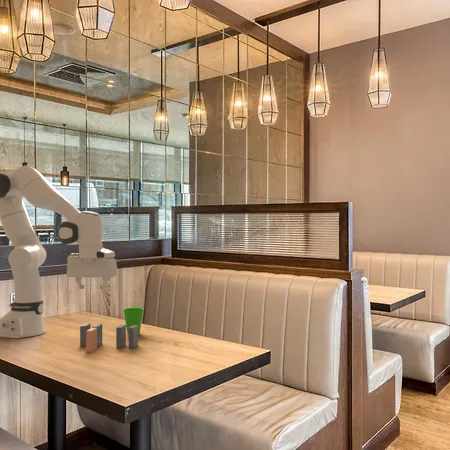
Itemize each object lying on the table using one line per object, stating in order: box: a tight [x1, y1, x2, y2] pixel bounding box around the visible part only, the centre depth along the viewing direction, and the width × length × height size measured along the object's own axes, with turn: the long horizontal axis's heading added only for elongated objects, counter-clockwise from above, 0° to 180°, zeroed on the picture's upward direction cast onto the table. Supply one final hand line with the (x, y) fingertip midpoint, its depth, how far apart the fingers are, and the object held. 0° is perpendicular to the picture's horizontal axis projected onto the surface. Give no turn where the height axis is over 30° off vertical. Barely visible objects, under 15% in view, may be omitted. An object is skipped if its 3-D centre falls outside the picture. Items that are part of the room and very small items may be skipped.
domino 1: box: [79, 322, 92, 347], centre depth 181 cm, size 2×5×8 cm, turn 171°
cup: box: [122, 306, 145, 336], centre depth 198 cm, size 9×9×11 cm
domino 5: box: [128, 325, 139, 350], centre depth 178 cm, size 2×5×8 cm, turn 171°
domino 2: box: [85, 327, 98, 353], centre depth 173 cm, size 2×5×8 cm, turn 171°
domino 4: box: [115, 324, 127, 349], centre depth 179 cm, size 2×5×8 cm, turn 171°
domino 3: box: [91, 323, 103, 348], centre depth 181 cm, size 2×5×8 cm, turn 171°
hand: (92, 289), depth 175 cm, fingers open, 8 cm apart
